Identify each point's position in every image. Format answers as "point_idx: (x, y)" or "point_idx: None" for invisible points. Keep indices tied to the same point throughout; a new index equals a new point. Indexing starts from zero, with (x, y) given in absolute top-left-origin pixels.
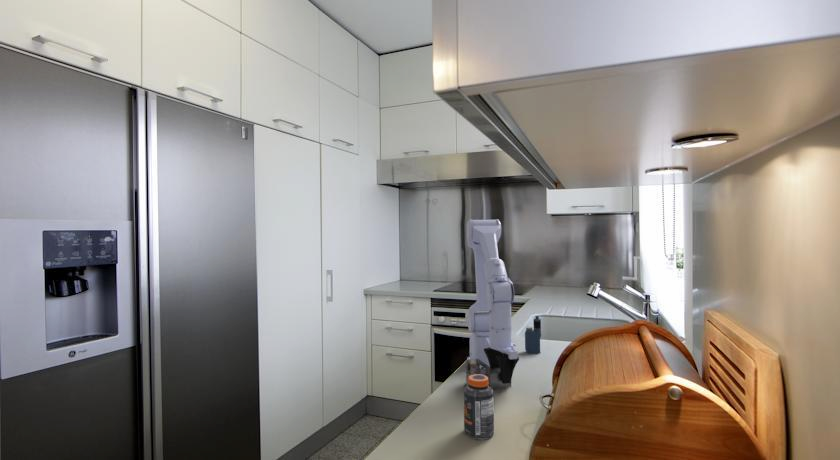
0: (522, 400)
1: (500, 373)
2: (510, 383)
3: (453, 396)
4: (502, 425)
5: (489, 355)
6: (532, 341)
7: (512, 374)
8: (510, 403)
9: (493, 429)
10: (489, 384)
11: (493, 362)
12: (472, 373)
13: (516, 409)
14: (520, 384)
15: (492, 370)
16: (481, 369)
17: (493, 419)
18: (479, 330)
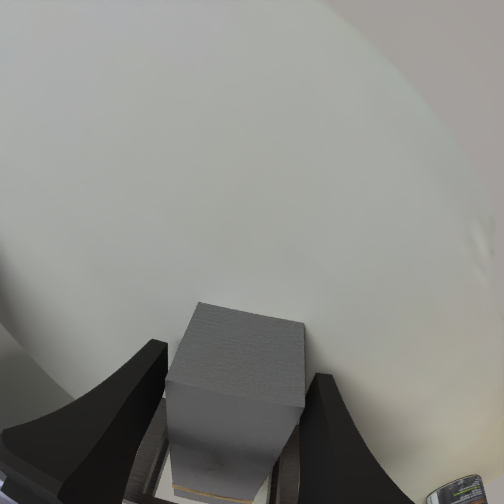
0: (462, 372)
1: (279, 449)
2: (302, 343)
3: (263, 487)
4: (479, 459)
5: (119, 501)
6: None
7: (350, 416)
8: (438, 415)
9: (482, 484)
10: (298, 457)
11: (132, 444)
12: (218, 501)
13: (476, 416)
14: (302, 245)
15: (216, 458)
16: (176, 470)
17: (486, 499)
18: None
